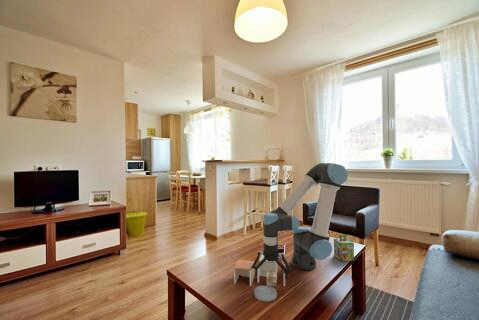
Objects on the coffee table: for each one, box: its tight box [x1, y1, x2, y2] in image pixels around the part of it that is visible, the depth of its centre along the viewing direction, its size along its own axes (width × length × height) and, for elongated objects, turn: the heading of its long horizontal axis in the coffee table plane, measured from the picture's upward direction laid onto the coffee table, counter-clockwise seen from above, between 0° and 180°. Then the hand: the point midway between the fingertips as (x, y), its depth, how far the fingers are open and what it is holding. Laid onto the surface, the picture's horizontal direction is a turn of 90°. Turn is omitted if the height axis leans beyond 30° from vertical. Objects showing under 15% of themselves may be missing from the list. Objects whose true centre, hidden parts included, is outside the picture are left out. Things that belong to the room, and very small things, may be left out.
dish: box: [253, 284, 278, 303], centre depth 104 cm, size 11×11×1 cm
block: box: [265, 271, 278, 288], centre depth 113 cm, size 5×5×5 cm
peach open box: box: [233, 259, 255, 287], centre depth 117 cm, size 9×9×9 cm
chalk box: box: [333, 234, 355, 262], centre depth 140 cm, size 9×9×15 cm
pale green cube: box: [258, 254, 278, 277], centre depth 124 cm, size 9×9×9 cm
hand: (271, 283), depth 113 cm, fingers open, 13 cm apart
